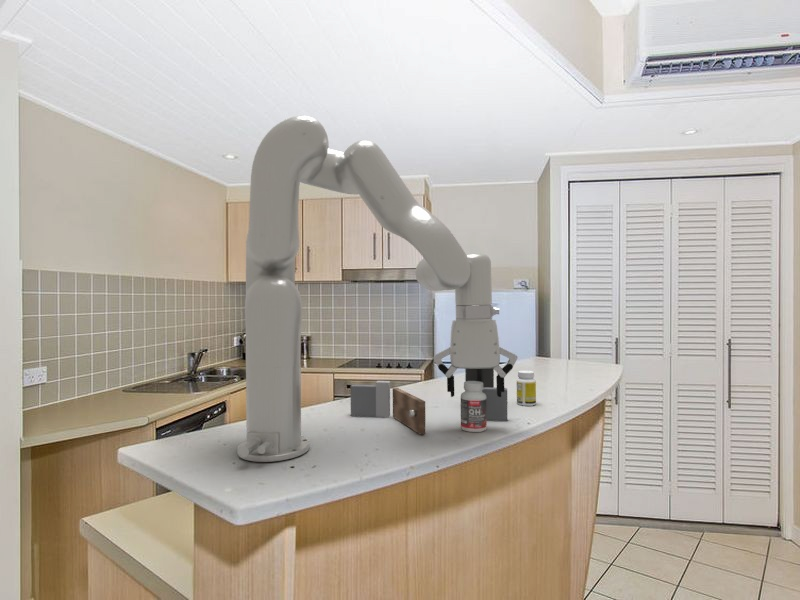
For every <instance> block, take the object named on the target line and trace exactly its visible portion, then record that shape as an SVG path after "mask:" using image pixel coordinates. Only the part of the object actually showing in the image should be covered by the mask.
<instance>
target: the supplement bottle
mask: <svg viewBox="0 0 800 600" xmlns="http://www.w3.org/2000/svg"><path fill="white" fill-rule="evenodd" d="M517 377H518V378H516V403H517V405H519V406H522V405H523V406H524V407H533V405H534V406H536V404H537V385H536V384H537V382H536V379H535V372H534V371H533V370H525V369H524V370H518V372H517Z"/></svg>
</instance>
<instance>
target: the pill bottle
mask: <svg viewBox="0 0 800 600" xmlns="http://www.w3.org/2000/svg"><path fill="white" fill-rule="evenodd" d="M463 390H464V391H463V392H461V393H460V428H461V430H462V431H464V432H469V433H481V432H484V431H486V430H487V421H488V420H487V398H486V394H485V393H483V392H482V390H483V383H482V382H479V381H466V382H465V381H464V382H463Z"/></svg>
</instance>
